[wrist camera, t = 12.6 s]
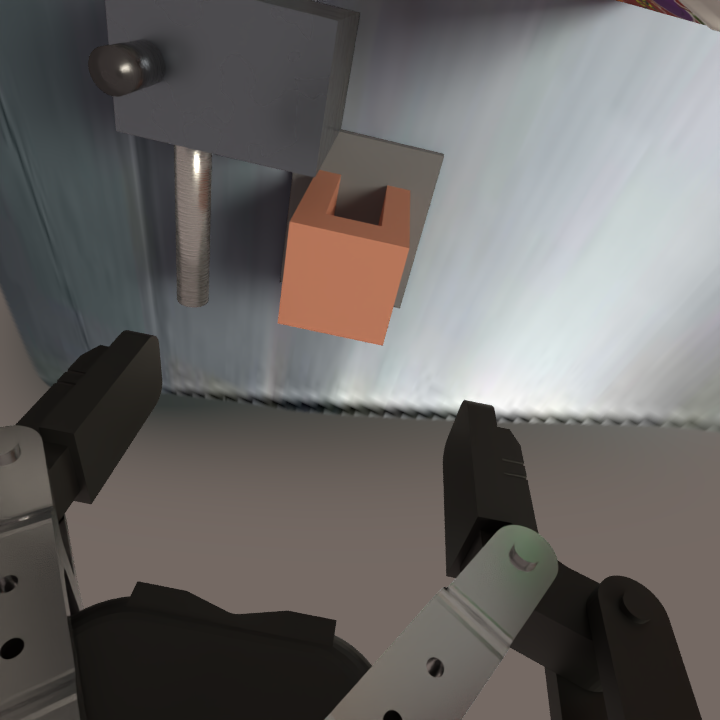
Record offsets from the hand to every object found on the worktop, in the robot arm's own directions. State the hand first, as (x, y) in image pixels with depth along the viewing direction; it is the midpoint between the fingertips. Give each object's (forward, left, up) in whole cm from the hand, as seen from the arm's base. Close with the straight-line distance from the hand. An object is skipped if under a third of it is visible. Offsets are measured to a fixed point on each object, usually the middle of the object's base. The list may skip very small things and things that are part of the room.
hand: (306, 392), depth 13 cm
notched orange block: (0, +4, -22) cm, 23 cm away
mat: (0, +4, -23) cm, 23 cm away
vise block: (+7, +1, -23) cm, 24 cm away
